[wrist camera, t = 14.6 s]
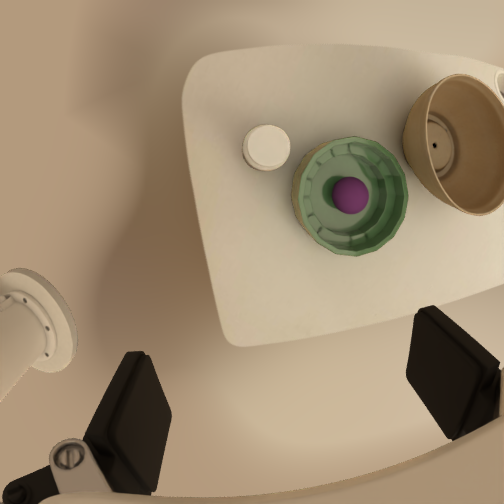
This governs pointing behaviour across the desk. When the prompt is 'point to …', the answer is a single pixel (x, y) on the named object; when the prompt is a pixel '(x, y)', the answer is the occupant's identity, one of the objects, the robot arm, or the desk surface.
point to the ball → (350, 195)
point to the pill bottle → (266, 147)
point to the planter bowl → (458, 144)
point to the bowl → (333, 220)
